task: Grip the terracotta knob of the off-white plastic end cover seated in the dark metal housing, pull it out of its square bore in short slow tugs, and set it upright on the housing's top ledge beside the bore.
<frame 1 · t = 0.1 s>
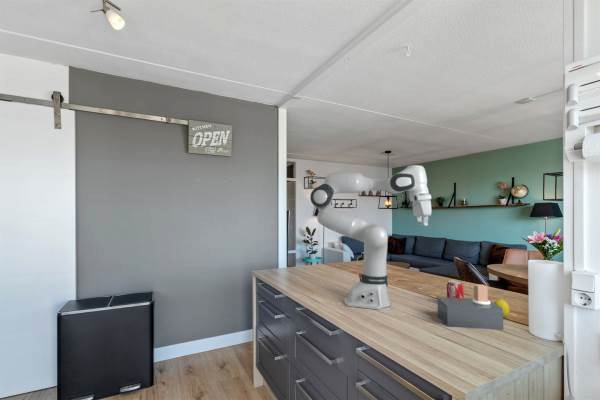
hand: (423, 225, 137), 39 cm above the kitchen island, tool pointing down, fingers open, 8 cm apart
housing: (468, 322, 115), on the kitchen island
lemon: (501, 318, 119), on the kitchen island
end cover: (481, 316, 114), point 2 cm above the kitchen island, touching housing
soda can: (455, 307, 133), on the kitchen island
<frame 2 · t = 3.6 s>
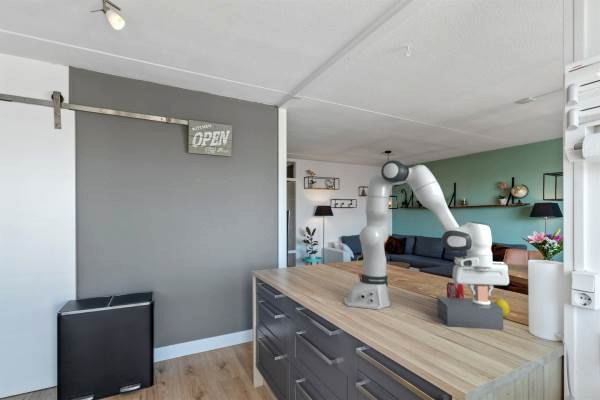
hand: (480, 295, 114), 11 cm above the kitchen island, tool pointing down, fingers closed on end cover, 4 cm apart
end cover: (481, 316, 114), point 3 cm above the kitchen island, touching gripper, housing
everything else where it was.
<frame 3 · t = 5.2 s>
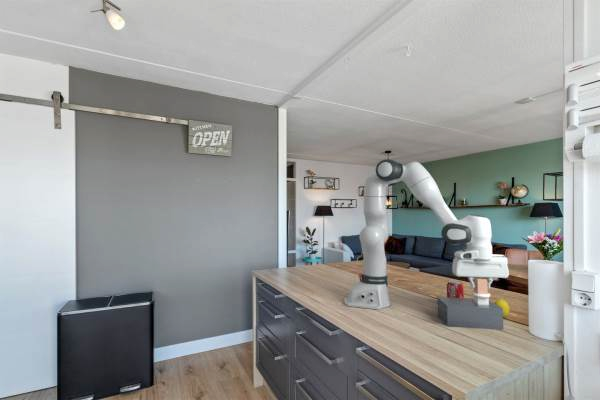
hand: (480, 287, 115), 14 cm above the kitchen island, tool pointing down, fingers closed on end cover, 4 cm apart
end cover: (481, 309, 114), point 5 cm above the kitchen island, touching gripper
everything else where it was.
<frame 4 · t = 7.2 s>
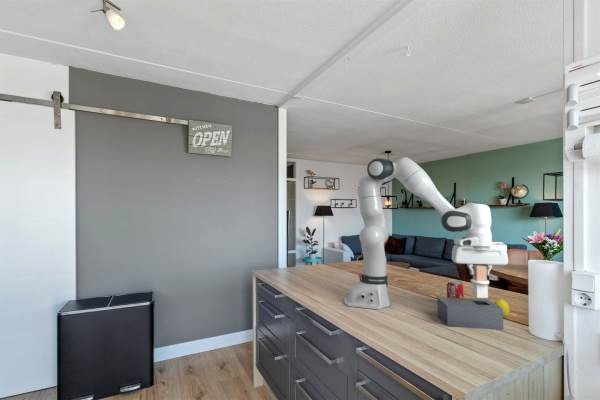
hand: (479, 275, 115), 19 cm above the kitchen island, tool pointing down, fingers closed on end cover, 4 cm apart
end cover: (480, 296, 115), point 11 cm above the kitchen island, touching gripper
everything else where it was.
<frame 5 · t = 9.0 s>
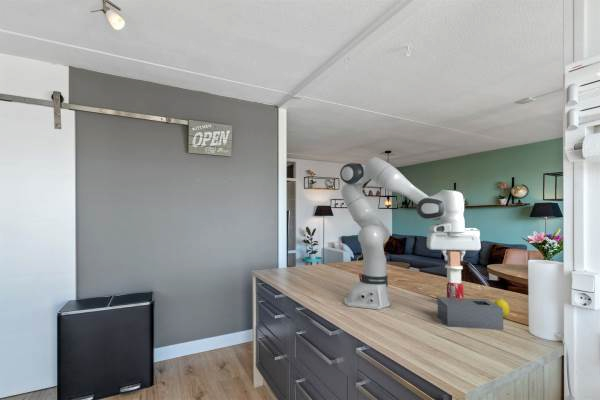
hand: (453, 260, 117), 25 cm above the kitchen island, tool pointing down, fingers closed on end cover, 4 cm apart
end cover: (454, 281, 116), point 16 cm above the kitchen island, touching gripper
everything else where it was.
when the fingers open (18 cm above the kitchen island, at t = 10.8 s): end cover drops 1 cm, resting on housing.
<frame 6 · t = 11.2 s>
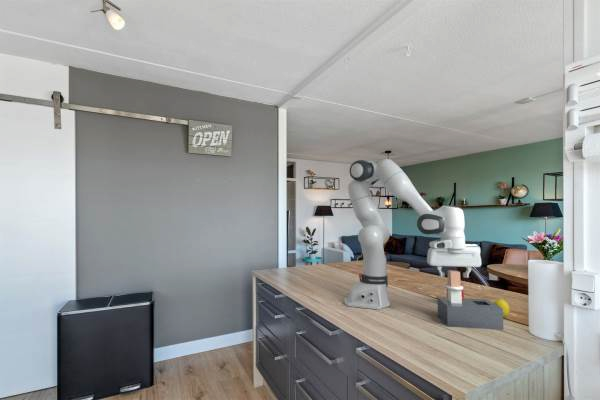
hand: (454, 277, 116), 18 cm above the kitchen island, tool pointing down, fingers open, 8 cm apart
end cover: (454, 301, 116), point 8 cm above the kitchen island, touching housing
everything else where it was.
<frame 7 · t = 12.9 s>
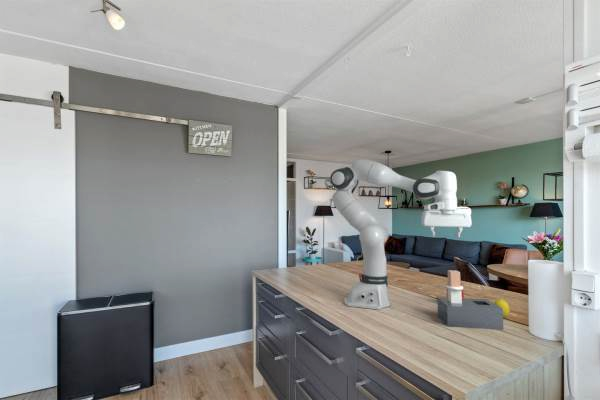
hand: (445, 237, 125), 34 cm above the kitchen island, tool pointing down, fingers open, 8 cm apart
nothing on the kitchen island moved.
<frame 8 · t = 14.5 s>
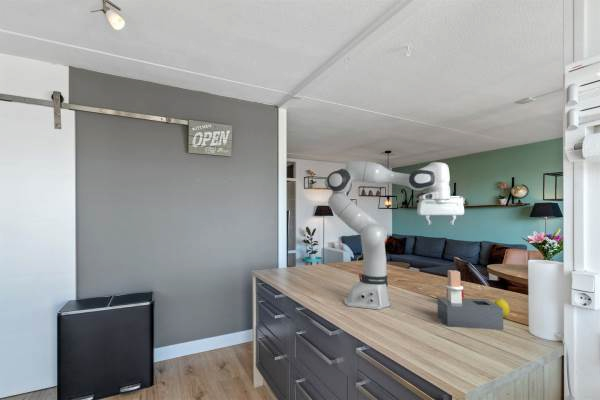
hand: (440, 225, 132), 39 cm above the kitchen island, tool pointing down, fingers open, 8 cm apart
nothing on the kitchen island moved.
at the end: end cover inside the target area on the housing (0.1 cm from its centre), point 8.0 cm above the housing's base; end cover tilted 0°; the gripper is holding nothing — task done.
